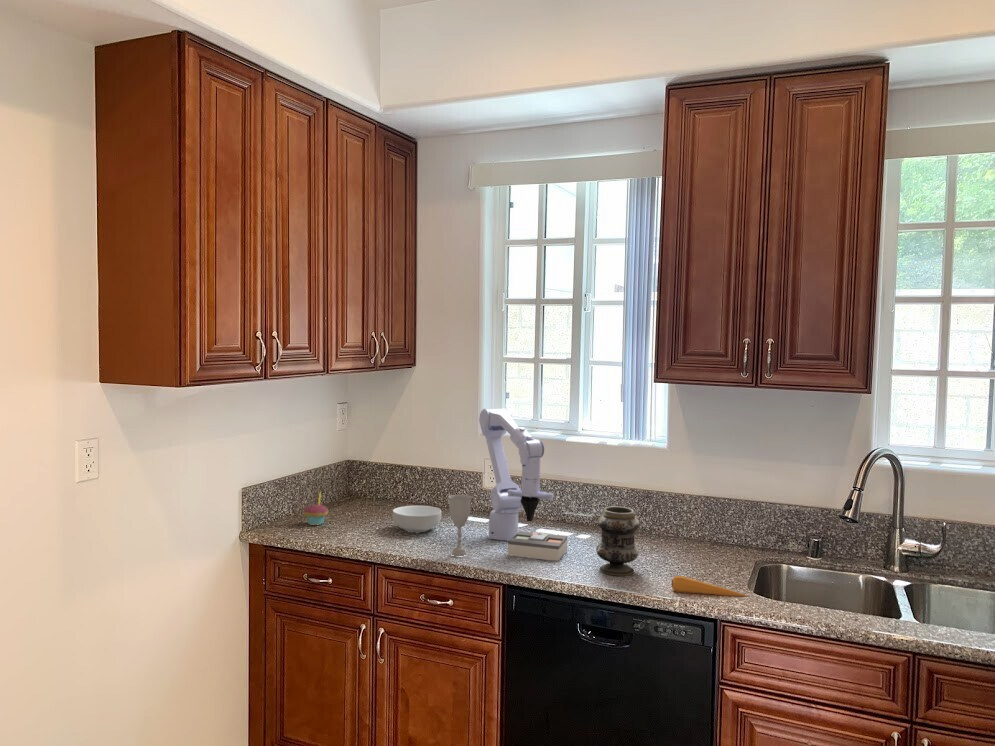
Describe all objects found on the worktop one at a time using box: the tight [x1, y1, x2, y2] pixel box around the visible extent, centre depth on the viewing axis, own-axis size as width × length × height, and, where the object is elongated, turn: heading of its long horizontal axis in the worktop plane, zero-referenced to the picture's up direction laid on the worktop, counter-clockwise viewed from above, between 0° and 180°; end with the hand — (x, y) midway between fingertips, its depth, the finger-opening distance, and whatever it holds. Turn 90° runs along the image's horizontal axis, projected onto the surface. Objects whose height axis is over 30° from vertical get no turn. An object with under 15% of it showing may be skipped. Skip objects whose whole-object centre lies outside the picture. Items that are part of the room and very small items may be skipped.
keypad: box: [507, 530, 568, 562], centre depth 229 cm, size 16×12×5 cm
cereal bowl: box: [392, 505, 442, 533], centre depth 254 cm, size 17×17×7 cm
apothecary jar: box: [595, 505, 640, 577], centre depth 212 cm, size 12×12×18 cm
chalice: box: [448, 494, 472, 556], centre depth 225 cm, size 7×7×18 cm
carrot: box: [671, 575, 750, 598], centre depth 195 cm, size 20×4×4 cm, turn 79°
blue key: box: [530, 535, 546, 541], centre depth 229 cm, size 4×4×2 cm
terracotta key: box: [547, 539, 561, 543], centre depth 227 cm, size 4×4×2 cm
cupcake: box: [303, 489, 329, 525], centre depth 259 cm, size 9×8×12 cm
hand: (529, 520), depth 233 cm, fingers closed
